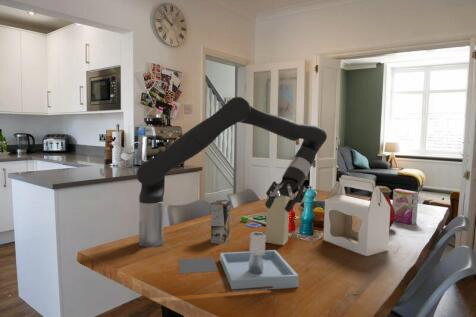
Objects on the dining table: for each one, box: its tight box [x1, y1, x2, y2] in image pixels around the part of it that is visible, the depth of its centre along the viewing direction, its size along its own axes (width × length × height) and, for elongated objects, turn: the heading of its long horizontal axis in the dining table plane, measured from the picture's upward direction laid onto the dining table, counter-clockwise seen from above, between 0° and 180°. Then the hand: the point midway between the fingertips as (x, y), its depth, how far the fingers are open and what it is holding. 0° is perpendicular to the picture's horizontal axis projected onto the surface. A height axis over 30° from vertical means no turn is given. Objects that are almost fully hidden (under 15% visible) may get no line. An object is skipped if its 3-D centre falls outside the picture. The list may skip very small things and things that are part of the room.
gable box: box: [323, 174, 390, 257], centre depth 139 cm, size 22×13×28 cm, turn 32°
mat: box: [178, 256, 219, 275], centre depth 114 cm, size 12×12×1 cm
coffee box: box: [210, 199, 232, 245], centre depth 142 cm, size 9×6×16 cm
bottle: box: [368, 185, 397, 230], centre depth 165 cm, size 16×14×20 cm
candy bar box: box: [391, 188, 419, 226], centre depth 177 cm, size 11×5×16 cm, turn 34°
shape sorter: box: [240, 212, 301, 229], centre depth 176 cm, size 34×19×5 cm, turn 124°
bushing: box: [248, 231, 267, 274], centre depth 110 cm, size 5×5×12 cm
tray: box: [219, 249, 300, 293], centre depth 110 cm, size 20×22×4 cm
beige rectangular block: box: [265, 191, 291, 246], centre depth 142 cm, size 8×7×21 cm
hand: (276, 209), depth 117 cm, fingers open, 8 cm apart
